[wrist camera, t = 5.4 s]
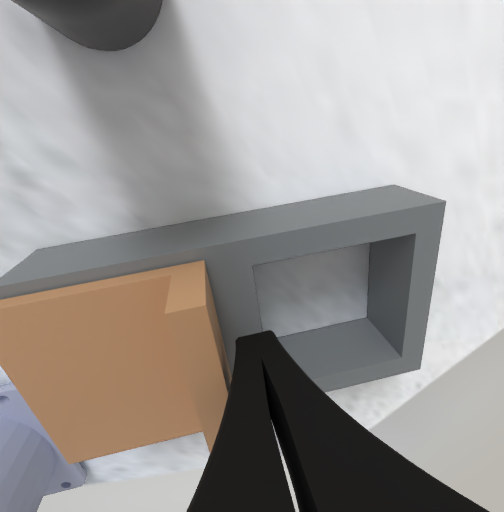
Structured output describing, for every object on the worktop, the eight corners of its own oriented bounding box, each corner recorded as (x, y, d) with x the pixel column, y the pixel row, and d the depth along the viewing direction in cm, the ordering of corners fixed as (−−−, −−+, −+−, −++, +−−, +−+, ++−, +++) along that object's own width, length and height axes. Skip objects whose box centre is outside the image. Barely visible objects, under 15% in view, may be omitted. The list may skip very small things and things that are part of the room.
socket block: (107, 391, 15) (87, 450, 12) (36, 249, 11) (-14, 288, 9) (383, 328, 16) (419, 368, 14) (393, 184, 13) (446, 201, 10)
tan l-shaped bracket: (74, 449, 12) (44, 528, 10) (-20, 303, 9) (-99, 368, 6) (238, 409, 13) (247, 474, 10) (204, 260, 9) (205, 305, 7)
